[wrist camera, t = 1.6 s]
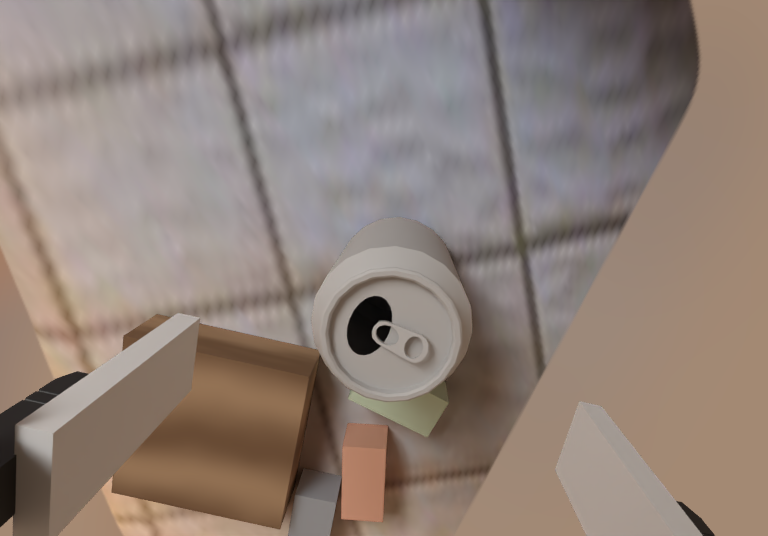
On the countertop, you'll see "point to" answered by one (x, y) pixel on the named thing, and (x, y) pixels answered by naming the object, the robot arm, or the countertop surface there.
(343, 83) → the countertop surface
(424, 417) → the brick sage
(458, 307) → the can
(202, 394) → the walnut block
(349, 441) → the brick terracotta
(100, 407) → the robot arm
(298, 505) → the brick slate
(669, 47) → the countertop surface
